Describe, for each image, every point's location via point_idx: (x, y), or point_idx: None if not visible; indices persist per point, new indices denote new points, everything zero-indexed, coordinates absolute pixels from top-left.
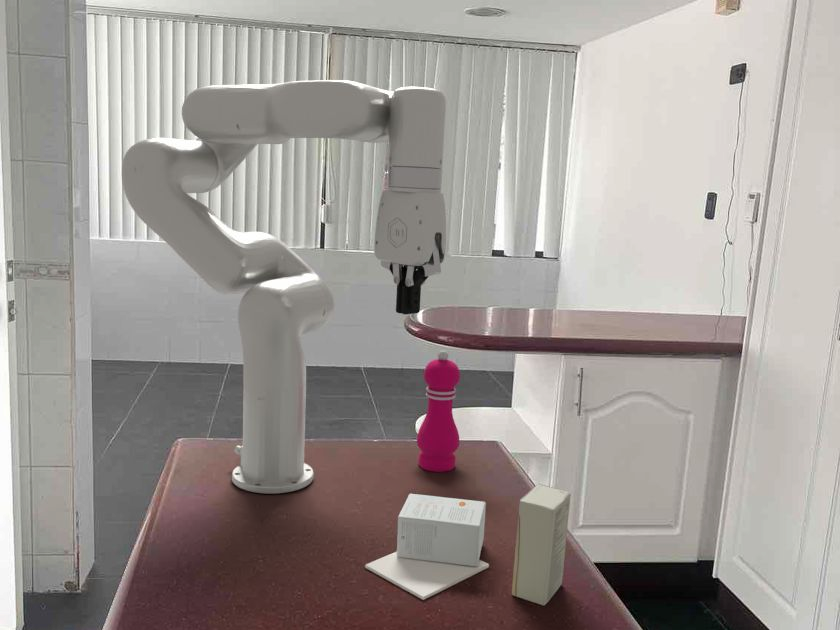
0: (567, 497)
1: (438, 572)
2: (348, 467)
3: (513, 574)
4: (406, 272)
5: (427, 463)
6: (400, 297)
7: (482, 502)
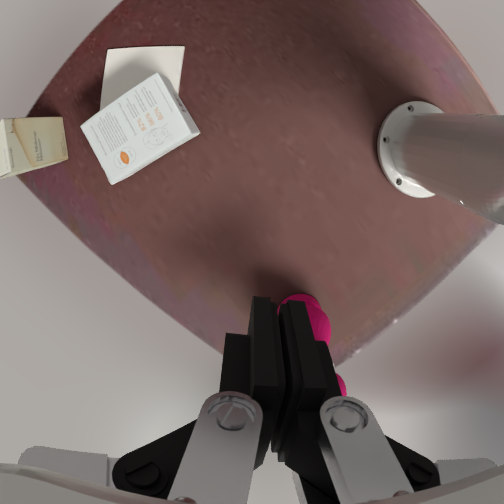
0: None
1: (121, 89)
2: (377, 237)
3: (51, 117)
4: (330, 493)
5: (299, 297)
6: (289, 343)
7: (112, 180)
